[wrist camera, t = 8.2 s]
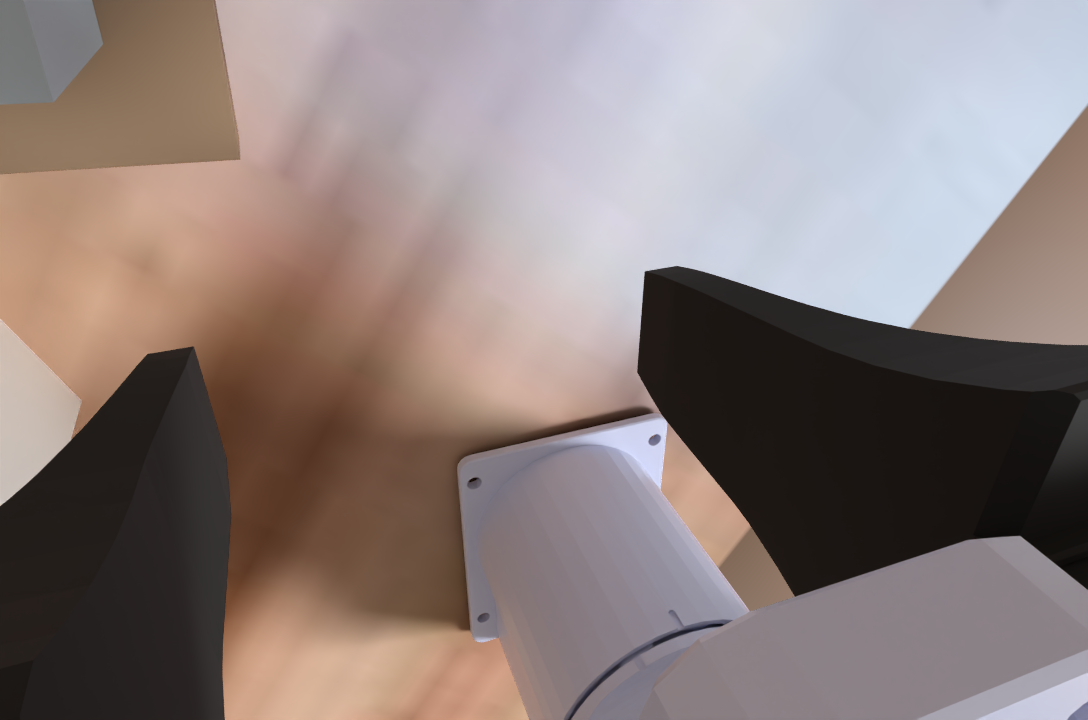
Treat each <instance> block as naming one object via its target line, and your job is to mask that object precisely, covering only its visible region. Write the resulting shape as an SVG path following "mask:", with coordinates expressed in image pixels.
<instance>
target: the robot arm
mask: <svg viewBox="0 0 1088 720" xmlns="http://www.w3.org/2000/svg"><path fill="white" fill-rule="evenodd" d="M637 373H638V374H639V376H640V378H641V380H642V382H643V383H644V385H645V387H646V389H647V391H648V392H649V394H650V396H651V398H652V399H653V401H654V402H655V404H656V406H657V407H658V409H659V411H660V412H661V414H662V415H663V417H664V418H665V419H666V420H665V419H664V418H663V417H662V415H661V414H658V413H651V414H647V415H643V416H638V417H634V418H629V419H625V420H621V421H616V422H612V423H608V424H603V425H599V426H595V427H590V428H586V429H581V430H577V431H573V432H568V433H564V434H560V435H555V436H551V437H546V438H542V439H538V440H533V441H529V442H525V443H520V444H516V445H511V446H507V447H503V448H498V449H494V450H490V451H485V452H481V453H476V454H472V455H469V456H466V457H464V458H463V459H462V460H461V461H460V462H459V464H458V466H457V475H458V487H459V499H460V511H461V523H462V535H463V547H464V558H465V570H466V582H467V594H468V606H469V618H470V630H471V634H472V637H473V639H474V640H475V641H476V642H485V641H489V640H492V639H495V638H498V637H499V639H500V642H501V645H502V647H503V650H504V653H505V655H506V658H507V661H508V664H509V666H510V669H511V672H512V674H513V677H514V680H515V682H516V685H517V688H518V690H519V693H520V696H521V698H522V701H523V704H524V706H525V709H526V712H527V714H528V717H529V720H1088V345H1055V344H1038V343H1021V342H1008V341H1007V342H1006V341H997V340H986V339H985V340H984V339H976V338H969V337H961V336H952V335H946V334H938V333H931V332H925V331H919V330H912V329H907V328H902V327H897V326H892V325H887V324H882V323H878V322H873V321H868V320H863V319H859V318H855V317H851V316H847V315H843V314H839V313H836V312H832V311H828V310H825V309H821V308H818V307H814V306H810V305H807V304H804V303H800V302H797V301H794V300H790V299H787V298H784V297H781V296H778V295H775V294H772V293H768V292H765V291H762V290H759V289H756V288H753V287H750V286H747V285H744V284H741V283H738V282H735V281H731V280H728V279H725V278H722V277H719V276H716V275H712V274H709V273H705V272H702V271H698V270H694V269H690V268H685V267H679V266H674V267H668V268H662V269H656V270H650V271H645V276H644V289H643V303H642V316H641V330H640V343H639V356H638V370H637ZM666 421H667V422H668V423H669V424H670V426H671V427H672V428H673V429H674V431H675V432H676V433H677V434H678V436H679V437H680V438H681V439H682V441H683V442H684V443H685V444H686V446H687V447H688V448H689V449H690V450H691V452H692V453H693V454H694V455H695V456H696V458H697V459H698V460H699V461H700V462H701V464H702V465H703V466H704V467H705V469H706V470H707V471H708V472H709V473H710V475H711V476H712V477H713V478H714V479H715V481H716V482H717V483H718V484H719V485H720V487H721V488H722V489H723V490H724V492H725V493H726V494H727V495H728V496H729V498H730V499H731V500H732V501H733V502H734V504H735V505H736V506H737V508H738V509H739V510H740V512H741V513H742V514H743V516H744V517H745V518H746V520H747V521H748V523H749V524H750V526H751V527H752V529H753V530H754V532H755V533H756V535H757V536H758V538H759V539H760V541H761V543H762V544H763V545H764V547H765V549H766V550H767V552H768V553H769V555H770V556H771V558H772V559H773V561H774V563H775V564H776V566H777V567H778V569H779V571H780V572H781V574H782V576H783V577H784V579H785V581H786V582H787V584H788V586H789V587H790V589H791V591H792V592H793V594H794V596H795V597H793V598H790V599H787V600H784V601H781V602H778V603H774V604H771V605H769V606H766V607H763V608H759V609H756V610H753V611H749V609H748V608H747V607H746V606H745V604H744V603H743V601H742V600H741V599H740V597H739V596H738V595H737V593H736V592H735V591H734V589H733V588H732V586H731V585H730V584H729V582H728V581H727V580H726V578H725V577H724V576H723V574H722V573H721V572H720V570H719V569H718V567H717V566H716V565H715V563H714V562H713V561H712V559H711V558H710V557H709V555H708V554H707V553H706V551H705V550H704V549H703V547H702V546H701V544H700V543H699V542H698V540H697V539H696V538H695V536H694V535H693V534H692V532H691V531H690V530H689V528H688V527H687V526H686V524H685V523H684V522H683V520H682V519H681V517H680V516H679V515H678V513H677V512H676V511H675V509H674V508H673V507H672V505H671V504H670V503H669V501H668V500H667V499H666V497H665V496H664V494H663V493H662V492H661V480H662V471H663V461H664V452H665V442H666V433H667V422H666ZM655 434H656V435H655ZM653 435H655V436H654V437H653V438H652V439H650V437H651V436H653ZM649 439H650V440H649ZM474 477H478V478H477V479H476V480H475V481H473V482H468V481H469V480H470V479H472V478H474ZM230 524H231V507H230V493H229V481H228V470H227V459H226V455H225V452H224V448H223V445H222V441H221V438H220V434H219V431H218V428H217V424H216V421H215V417H214V414H213V410H212V407H211V404H210V400H209V397H208V393H207V390H206V387H205V383H204V380H203V376H202V373H201V369H200V366H199V363H198V359H197V356H196V352H195V349H194V347H188V348H182V349H176V350H170V351H164V352H158V353H152V354H147V355H146V356H145V358H144V359H143V360H142V361H141V362H140V363H139V364H138V365H137V366H136V368H135V369H134V370H133V371H132V372H131V374H130V375H129V376H128V377H127V378H126V380H125V381H124V382H123V383H122V384H121V385H120V387H119V388H118V389H117V390H116V391H115V393H114V394H113V395H112V396H111V397H110V398H109V399H108V401H107V402H106V403H105V404H104V405H103V406H102V407H101V408H100V410H99V411H98V412H97V413H96V414H95V415H94V416H93V417H92V419H91V420H90V421H89V422H88V423H87V424H86V425H85V426H84V428H83V429H82V430H81V431H80V432H79V433H78V434H77V435H76V436H75V437H74V438H73V439H72V440H71V441H70V442H69V443H68V444H67V445H66V446H65V447H64V448H63V449H62V450H61V451H60V452H59V453H58V454H57V455H56V456H55V457H54V458H53V459H52V460H51V461H50V462H49V463H48V464H47V465H46V466H45V467H44V468H43V469H42V470H41V471H40V472H39V473H38V474H37V475H35V476H34V477H33V478H32V479H31V480H30V481H29V482H28V483H27V484H26V485H24V486H23V487H22V488H21V489H20V490H19V491H18V492H16V493H15V494H14V495H13V496H12V497H11V498H10V499H8V500H7V501H6V502H5V503H3V504H2V505H1V506H0V720H225V717H224V698H223V678H222V661H223V633H224V618H225V603H226V588H227V573H228V558H229V542H230ZM483 613H484V614H483Z"/></svg>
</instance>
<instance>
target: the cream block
mask: <svg viewBox="0 0 1088 720" xmlns="http://www.w3.org/2000/svg"><path fill="white" fill-rule="evenodd" d="M81 402H82V400H81V399H80V398H79V397H78V396H77V395H76V394H75V393H74V392H73V391H72V390H71V389H70V388H69V387H68V386H67V385H66V384H65V383H64V382H63V381H62V380H61V379H60V378H59V377H58V376H57V375H56V374H55V373H54V372H53V371H52V370H51V369H50V368H49V367H48V366H47V365H46V364H45V363H44V362H43V361H42V360H41V359H40V358H39V357H38V356H37V355H36V354H35V353H34V352H33V351H32V350H31V349H30V348H29V347H28V346H27V345H26V344H25V343H24V342H23V341H22V340H21V339H20V338H19V337H18V336H17V335H16V334H15V333H14V332H13V331H12V330H11V329H10V328H9V327H8V326H7V325H6V324H5V323H4V322H3V321H2V320H1V319H0V506H1V505H2V504H3V503H5V502H6V501H7V500H8V499H10V498H11V497H12V496H13V495H14V494H15V493H16V492H18V491H19V490H20V489H21V488H22V487H23V486H24V485H26V484H27V483H28V482H29V481H30V480H31V479H32V478H33V477H34V476H35V475H37V474H38V473H39V472H40V471H41V470H42V469H43V468H44V467H45V466H46V465H47V464H48V463H49V462H50V461H51V460H52V459H53V458H54V457H55V456H56V455H57V454H58V453H59V452H60V451H61V450H62V449H63V448H64V447H65V446H66V445H67V444H68V443H69V442H70V441H71V438H72V434H73V431H74V427H75V424H76V420H77V416H78V413H79V409H80V406H81Z"/></svg>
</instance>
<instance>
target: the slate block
mask: <svg viewBox="0 0 1088 720" xmlns="http://www.w3.org/2000/svg"><path fill="white" fill-rule="evenodd" d="M102 45H103V41H102V37H101V33H100V29H99V25H98V22H97V18H96V14H95V10H94V6H93V2H92V0H0V105H2V104H26V103H50V102H54V101H55V100H56V99H57V98H58V97H59V96H60V94H61V93H62V92H63V91H64V90H65V89H66V87H67V86H68V85H69V84H70V83H71V81H72V80H73V79H74V78H75V77H76V76H77V74H78V73H79V72H80V71H81V70H82V68H83V67H84V66H85V65H86V64H87V63H88V61H89V60H90V59H91V58H92V57H93V56H94V54H95V53H96V52H97V51H98V50H99V48H100V47H101V46H102Z"/></svg>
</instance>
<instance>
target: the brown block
mask: <svg viewBox="0 0 1088 720" xmlns="http://www.w3.org/2000/svg"><path fill="white" fill-rule="evenodd" d="M92 2H93V6H94V10H95V14H96V18H97V22H98V25H99V29H100V33H101V37H102V41H103V45H102V46H101V47H100V48H99V50H98V51H97V52H96V53H95V54H94V56H93V57H92V58H91V59H90V60H89V61H88V63H87V64H86V65H85V66H84V67H83V68H82V70H81V71H80V72H79V73H78V74H77V76H76V77H75V78H74V79H73V80H72V81H71V83H70V84H69V85H68V86H67V87H66V89H65V90H64V91H63V92H62V93H61V94H60V96H59V97H58V98H57V99H56V100H55V101H54V102H50V103H26V104H2V105H0V174H11V173H28V172H44V171H60V170H77V169H93V168H109V167H126V166H142V165H159V164H175V163H191V162H208V161H224V160H240V147H239V135H238V129H237V124H236V118H235V112H234V106H233V101H232V95H231V89H230V83H229V78H228V72H227V66H226V60H225V55H224V49H223V43H222V37H221V32H220V26H219V20H218V14H217V9H216V3H215V0H92Z"/></svg>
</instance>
